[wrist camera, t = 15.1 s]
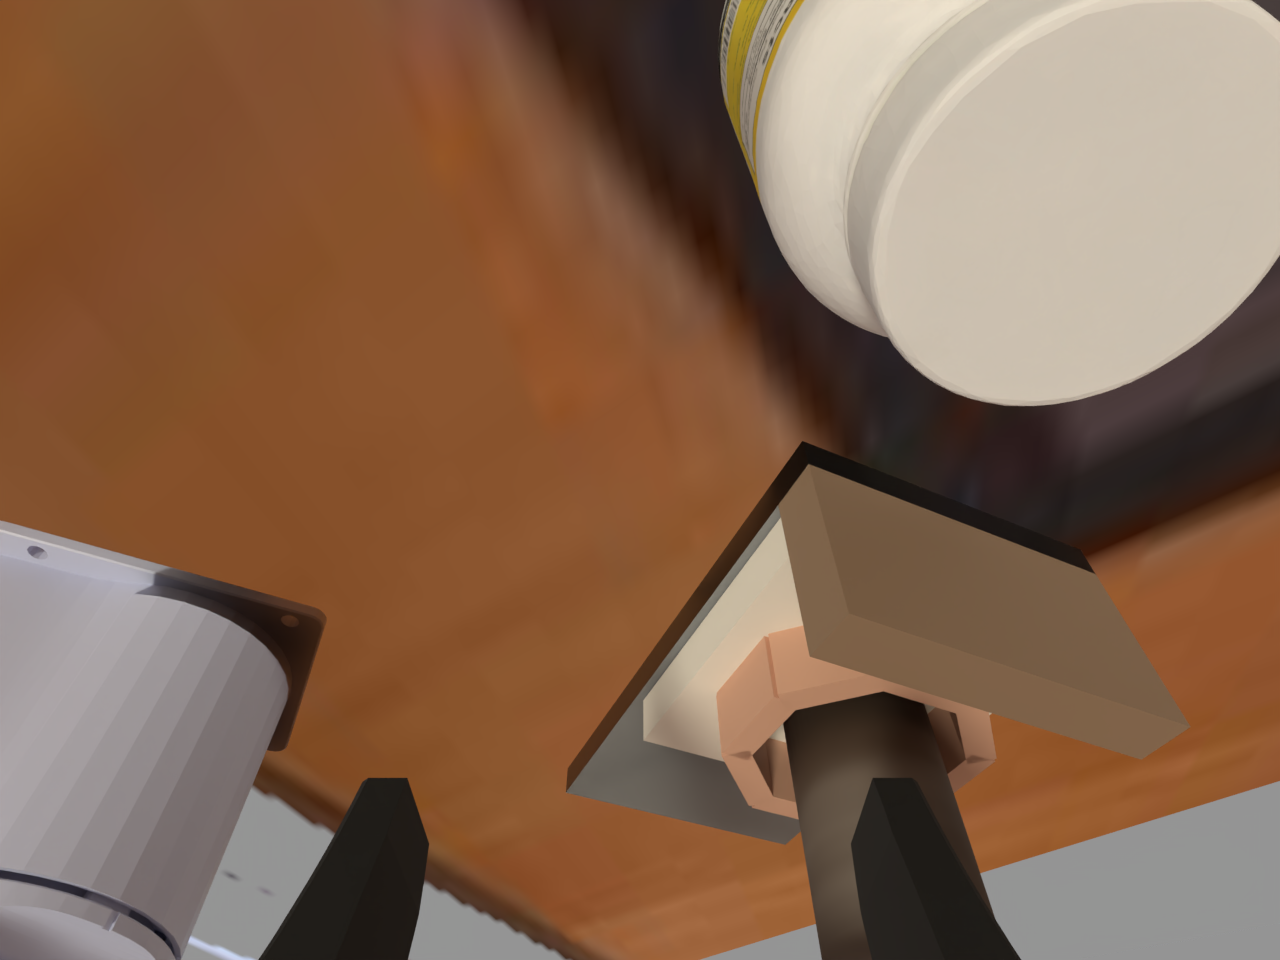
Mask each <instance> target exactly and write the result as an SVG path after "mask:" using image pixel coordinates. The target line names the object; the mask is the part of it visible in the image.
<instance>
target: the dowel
mask: <svg viewBox="0 0 1280 960" xmlns="http://www.w3.org/2000/svg"><path fill="white" fill-rule="evenodd" d="M783 726H784V732H785V738H786V744H787V751H788V757H789V763H790V769H791V775H792V781H793V787H794V793H795V799H796V805H797V812H798V818H799V824H800V830H801V836H802V842H803V848H804V854H805V860H806V866H807V872H808V879H809V885H810V891H811V897H812V903H813V909H814V915H815V921H816V927H817V933H818V939H819V946H820V952H821V958H822V960H872V957H871V953H870V949H869V945H868V941H867V937H866V933H865V929H864V925H863V921H862V916H861V911H860V905H859V898H858V892H857V885H856V878H855V871H854V864H853V856H852V849H851V842H852V839H853V836H854V833H855V830H856V827H857V824H858V821H859V818H860V815H861V812H862V808H863V805H864V802H865V799H866V796H867V793H868V790H869V787H870V784H871V781H872V778H913V779H914V780H916V781H917V782H918V784H919V786H920V788H921V790H922V792H923V794H924V796H925V798H926V800H927V802H928V804H929V805H930V807H931V809H932V811H933V813H934V815H935V817H936V819H937V821H938V822H939V824H940V826H941V828H942V830H943V832H944V833H945V835H946V837H947V839H948V841H949V842H950V844H951V846H952V848H953V849H954V851H955V853H956V855H957V856H958V858H959V860H960V862H961V863H962V865H963V867H964V868H965V870H966V872H967V874H968V875H969V877H970V879H971V880H972V882H973V884H974V885H975V887H976V889H977V890H978V892H979V894H980V895H981V897H982V899H983V900H984V902H985V904H986V905H987V907H988V908H989V910H990V911H991V913H992V915H993V916H994V913H993V910H992V907H991V904H990V901H989V898H988V895H987V892H986V889H985V886H984V883H983V880H982V877H981V874H980V871H979V868H978V865H977V862H976V859H975V856H974V853H973V850H972V847H971V844H970V841H969V838H968V835H967V832H966V829H965V826H964V823H963V820H962V817H961V814H960V811H959V808H958V804H957V801H956V798H955V795H954V792H953V789H952V786H951V783H950V780H949V777H948V774H947V771H946V768H945V765H944V762H943V759H942V756H941V753H940V750H939V747H938V744H937V741H936V738H935V735H934V732H933V729H932V726H931V723H930V720H929V717H928V714H927V711H926V708H925V705H924V704H923V703H920V702H917V701H914V700H910V699H907V698H904V697H901V696H897V695H894V694H891V693H888V692H884V691H882V692H878V693H873V694H869V695H864V696H859V697H855V698H850V699H845V700H841V701H836V702H831V703H827V704H822V705H817V706H813V707H808V708H804V709H799V710H795V711H794V712H793V713H792V714H791V715H790V716H789V717H788V719H787V720H786V721H785V722H784V723H783ZM994 918H995V916H994Z"/></svg>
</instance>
